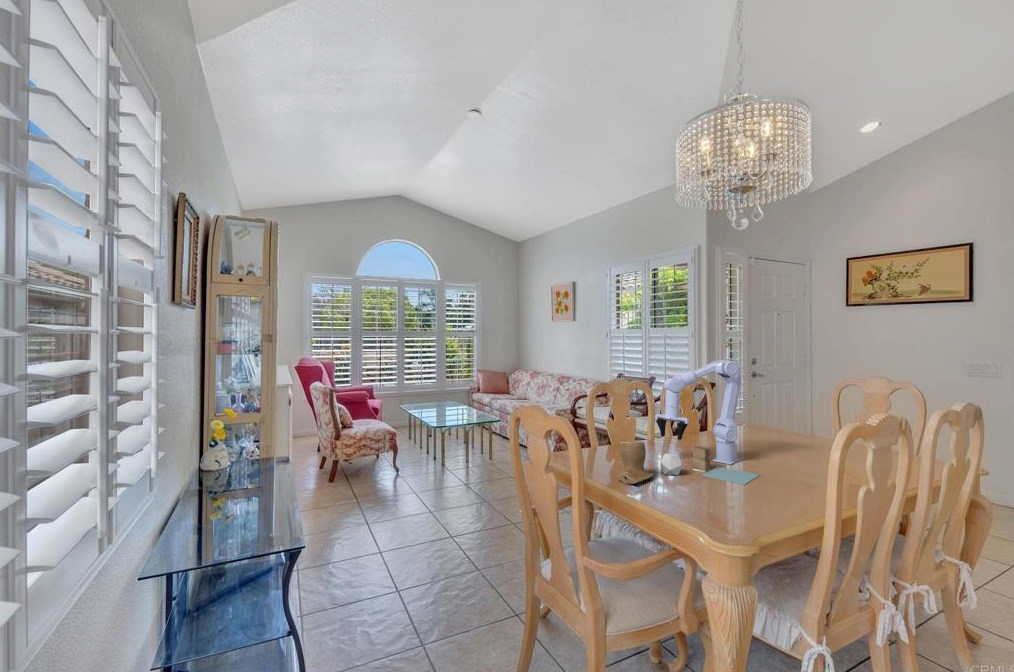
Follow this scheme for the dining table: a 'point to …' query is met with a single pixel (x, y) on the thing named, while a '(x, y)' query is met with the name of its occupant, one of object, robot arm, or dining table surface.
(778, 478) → the dining table surface
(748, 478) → the mat
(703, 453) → the walnut block
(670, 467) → the die
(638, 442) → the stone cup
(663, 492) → the dining table surface
